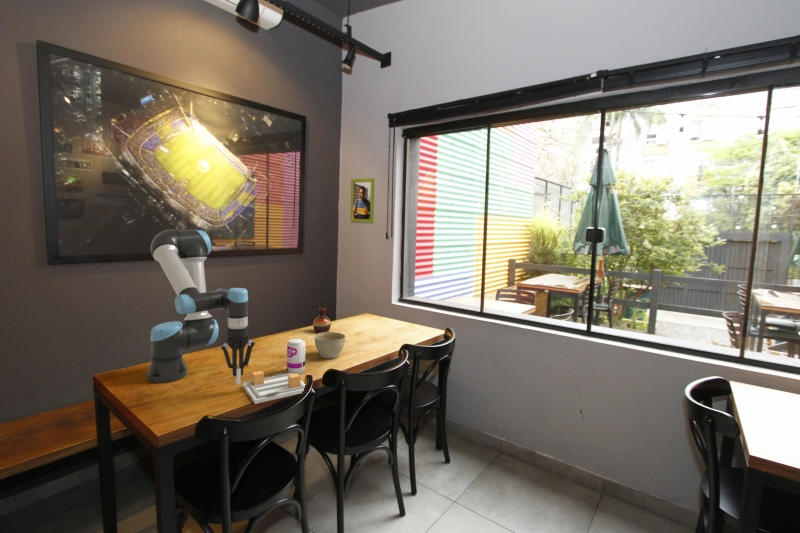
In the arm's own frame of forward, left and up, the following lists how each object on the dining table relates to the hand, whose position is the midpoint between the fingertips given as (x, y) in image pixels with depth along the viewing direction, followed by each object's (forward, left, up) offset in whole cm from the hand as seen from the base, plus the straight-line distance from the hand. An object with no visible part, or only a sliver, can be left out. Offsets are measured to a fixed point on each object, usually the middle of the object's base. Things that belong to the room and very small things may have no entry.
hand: (237, 383), depth 157 cm
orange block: (+8, 0, -2) cm, 8 cm away
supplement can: (+28, +9, -4) cm, 30 cm away
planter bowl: (+51, +21, -4) cm, 55 cm away
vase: (+66, +64, -4) cm, 92 cm away
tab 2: (+20, -10, -2) cm, 22 cm away
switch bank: (+14, -5, -4) cm, 15 cm away
